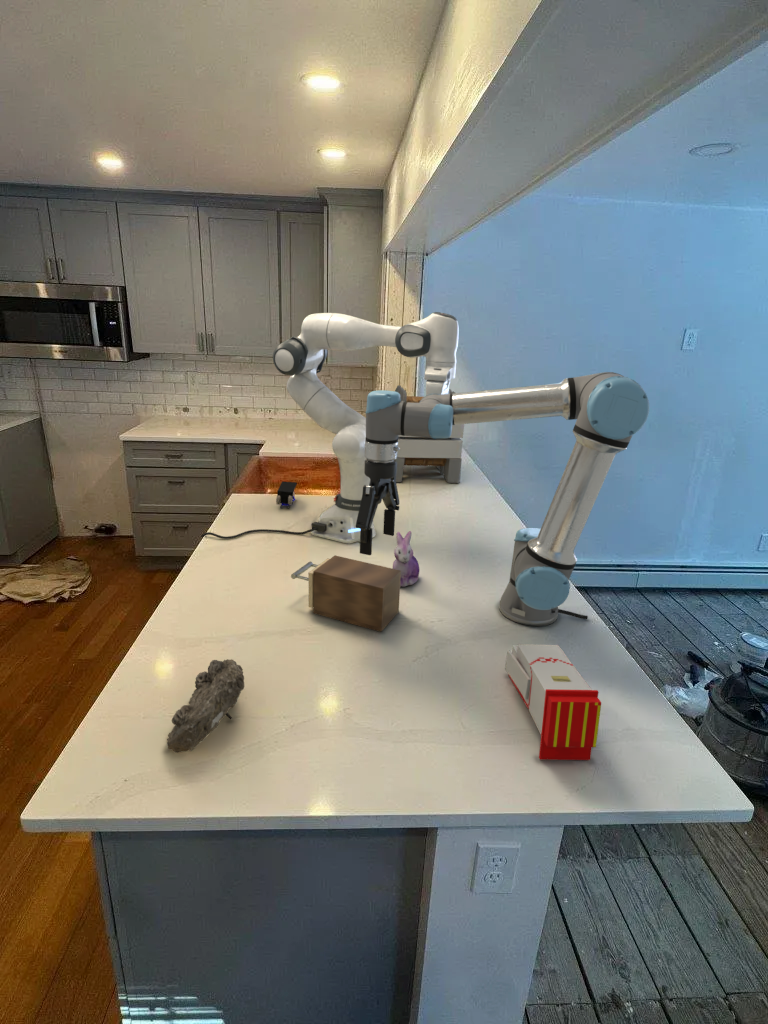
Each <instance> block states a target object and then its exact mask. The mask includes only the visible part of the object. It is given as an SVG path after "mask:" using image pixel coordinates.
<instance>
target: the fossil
mask: <svg viewBox="0 0 768 1024" xmlns="http://www.w3.org/2000/svg"><path fill="white" fill-rule="evenodd" d="M243 670H244V669H243V667H242V665H240V664H237V662H236V661H235V660H234V659H232V658H231V659H227V658H226V659H224V660H223V661H222V660H217V659H212V660H211V661H210V663H209V665H208V666H207V671H201V672H199V673H198V674H197V675H196V676H195V680H194V684H195V685H194V687H195V689H194V690H193V693H192V694H191V697H190V698H189V700H188V704H184V705H182V706H181V707H180V709H177V710H176V711H175V713H174V715H173V716H172V718H171V723H172V724H173V727H172V730H171V731H170V732H168V734H167V738H166V741H167V742H166V745H167V749H168V750H169V751H173V752H174V753H176V754H178V753H182V752H188V751H189V752H192V751H193V750H195V748H196V747H197V746H199V744H200V743H201V742H203V741H204V740H205V739H206V738H207V737H208V736H209V735H210V734H211V733H212V732H214V730H215V729H217V727H218V726H219V724H220V722H221V721H222V720H223V719H224V718H225V716H226V717H227V719H229V720H233V717H232V715H230V714H229V710H230V709H231V708H234V706H235V704H236V703H237V702H238V699H239V697H240V695H241V693H242V691H243V690H245V689H244V688H245V675H244V671H243Z"/></svg>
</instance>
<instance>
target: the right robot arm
mask: <svg viewBox="0 0 768 1024" xmlns="http://www.w3.org/2000/svg"><path fill="white" fill-rule="evenodd" d="M422 397H423V398H422V399H421V400H420V402H419V403H411V402H404V401H401V399H400V394H399V393H398V392H395V390H394V391H393V390H387V389H386V390H385V389H384V390H383V389H381V390H380V389H379V390H372V391H370V392H369V393H368V394H367V398H366V409H365V418H366V439H365V457H366V458H367V459H366V460H365V469H364V473H365V475H366V476H367V477H369V478H370V484H369V486H367V485H364V486H363V494H362V499H361V504H360V508H359V513H358V517H357V522H356V528H359V529H360V541H359V554H361V555H365V556H372V555H373V554H372V552H373V538H372V529H373V528H371V525H372V522H374V519H375V515H376V512H377V511H378V506H379V504H381V503H382V501H383V505H384V507H385V509H384V510H383V528H382V529H383V530H382V534H383V535H385V536H390V537H394V536H395V528H396V527H395V526H396V511H399V510H400V506H399V505H400V496H399V492H398V485H397V482H396V474H397V461H396V460H395V459H396V458H397V451H399V447H398V435H402V436H414V437H425V438H433V439H437V438H445V439H446V438H449V437H450V436H451V432H452V425H458V424H464V425H468V424H469V425H470V424H479V423H481V424H483V423H492V422H493V423H494V422H505V421H506V422H507V421H517V420H518V421H519V420H529V419H530V420H531V419H543V418H554V417H555V418H557V417H562V418H564V420H566V421H572V420H576V421H575V423H574V425H573V429H572V433H573V435H574V437H575V443H574V445H573V447H572V450H571V452H570V456H569V458H568V461H567V463H566V465H565V467H564V470H563V473H562V475H561V477H560V480H559V482H558V485H557V487H556V489H555V492H554V495H553V497H552V500H551V502H550V505H549V507H548V510H547V512H546V515H545V517H544V520H543V522H542V525H541V526H540V528H538V527H525V528H520V529H518V530H517V531H516V533H515V537H514V539H513V541H514V544H513V552H512V558H511V566H510V573H509V574H510V576H509V582H508V584H507V585H506V588H505V590H504V592H503V593H502V595H501V597H500V600H499V604H498V605H499V606H498V608H499V609H498V610H499V611H500V613H501V614H502V615H503V616H504V617H505V618H507V619H509V620H510V621H511V622H515V623H517V624H521V625H525V626H530V627H531V626H532V627H543V626H548V625H551V624H553V623H555V621H557V619H558V616H559V614H562V615H567V616H571V617H574V618H577V619H581V620H588V617H589V616H588V615H585V614H580V613H576V612H572V611H569V610H566V609H561V608H559V607H560V606H561V605H562V604H564V603H565V602H566V600H567V599H568V597H569V595H570V590H571V583H570V578H571V576H572V573H573V571H574V569H575V567H576V564H577V562H578V558H577V555H576V553H575V549H576V547H577V545H578V543H579V540H580V538H581V535H582V533H583V531H584V528H585V526H586V524H587V521H588V519H589V517H590V515H591V512H592V510H593V508H594V505H595V503H596V502H597V499H598V496H599V494H600V492H601V490H602V487H603V485H604V482H605V480H606V478H607V475H608V473H609V471H610V469H611V467H612V465H613V462H614V460H615V457H616V455H617V454H618V453H621V452H624V451H625V450H627V448H628V446H629V444H630V442H631V440H632V437H633V435H635V434H636V433H638V432H639V431H640V430H641V429H642V428H643V426H644V425H645V424H646V422H647V420H648V417H649V414H650V401H649V397H648V395H647V393H646V391H645V390H644V388H643V387H642V386H641V385H640V383H639V382H637V381H635V380H634V379H632V378H629V377H628V376H624V375H622V374H620V373H617V372H613V371H603V372H602V371H601V372H596V373H592V374H586V375H579V376H573V377H565V378H564V379H563V380H562V381H561V382H558V383H549V384H538V385H528V386H517V387H507V388H497V389H488V390H487V389H485V390H476V391H465V392H455V393H453V394H443V395H440V394H429V395H427V396H426V395H424V396H422Z"/></svg>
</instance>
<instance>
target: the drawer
mask: <svg viewBox="0 0 768 1024" xmlns="http://www.w3.org/2000/svg"><path fill="white" fill-rule="evenodd" d="M329 559H330V558H326V559H324V561H323V560H322V562H321V563H319V564H316V563H313V562H312V561H309V562H307V563H306V564H304V565H302V566H301V567H300V568H299V569H297V570H296V571H294V572H293V573H291V575H290V578H291V579H292V580H295V579H299V580H304V581H308V608H310V609H314V575H313V571H314V570H316V569H317V568H318V567H320V566H321V565H322V564H324V563H325V562H327V561H328V560H329ZM312 567H313V569H311V570H310V571H309V572H308V577H307V576H304V575H303V576H302V574H303V573H305V572H306V571H308V570H309V569H310V568H312Z"/></svg>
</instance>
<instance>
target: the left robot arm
mask: <svg viewBox="0 0 768 1024" xmlns="http://www.w3.org/2000/svg"><path fill="white" fill-rule="evenodd" d="M459 330H460V329H459V321H458V319H457V317H456V316H454V315H452V314H449V313H445V312H441V311H434V312H432V313H431V314H429V315H428V316H426V317H425V318H422V319H419V320H417V321H414V322H411V323H407V324H405V325H402V326H400V325H387V324H381V323H377V322H372V321H371V320H370V321H369V320H366V319H363V318H359V317H356V316H352V315H349V314H344V313H338V312H319V313H318V312H317V313H312V314H308V315H307V316H306V317H304V319H303V321H302V323H301V328H300V334H299V335H298V336H295V335H293V336H291V337H289V338H288V339H286V340H284V341H282V342H281V343H279V344H278V345H277V346H276V347H275V349H274V351H273V352H272V353H273V354H272V362H273V365H274V367H275V369H276V370H277V371H278V372H279V373H280V374H282V375H285V376H289V377H288V379H287V381H286V386H285V387H286V391H287V392H288V394H289V396H290V397H291V398H292V399H293V401H294V402H295V403H296V404H297V406H298V407H299V408H300V409H302V411H303V412H304V413H305V414H306V415H307V416H308V417H310V418H311V419H312V421H314V422H315V423H316V424H317V425H318V426H319V427H320V428H322V429H324V430H326V431H329V432H330V433H332V434H334V435H335V436H334V437H333V439H332V443H331V448H332V452H333V453H334V455H335V457H336V458H337V462H338V467H339V473H340V490H339V491H338V492H337V494H336V495H335V496H334V497H333V502H334V504H333V505H331V506H329V507H328V508H326V509H325V510H323V512H321V514H320V515H319V517H318V521H314V522H311V529H308V530H304V531H289V530H282V529H269V528H268V529H266V528H265V529H263V528H261V529H250V530H246V531H242V532H241V533H238V534H234V535H229V536H224V535H220V534H217V533H214V532H211V531H209V532H204V533H203V534H202V535H200V537H201V538H204V537H205V536H213V537H215V538H219V539H224V540H230V539H236V538H238V537H241V536H243V535H246V534H251V533H263V532H265V533H266V532H267V533H283V534H289V535H306V534H308V533H311V536H315V537H319V538H323V539H326V540H330V541H336V542H339V543H343V544H352V543H357V542H360V529H359V528H356V522H357V517H358V513H359V508H360V504H361V499H362V494H363V486H364V485H367V486H369V484H370V478H369V477H367V476H366V475H365V473H364V469H365V460H366V459H367V458H366V457H365V439H366V416H364V415H362V414H361V413H360V412H358V411H356V410H355V409H353V408H352V407H350V406H349V405H347V404H346V403H345V402H344V401H342V399H340V398H339V397H338V396H337V395H336V394H335V393H334V392H333V391H332V390H331V389H330V388H329V387H328V386H327V385H326V384H324V383H323V382H322V380H320V378H319V376H318V375H317V374H319V373H320V372H321V371H322V369H323V367H324V366H323V365H324V363H325V361H326V359H327V357H328V351H335V352H351V351H358V350H363V349H368V348H372V347H373V348H374V347H392V348H396V350H397V351H398V353H399V354H400V355H402V356H403V357H406V358H411V359H413V358H421V357H424V358H425V367H424V368H425V369H424V377H423V378H424V380H425V381H426V382H425V396H427V395H429V394H440V395H443V394H449V389H450V384H451V380H454V379H456V371H457V370H456V369H457V350H458V347H459V332H460V331H459ZM371 528H373V529H372V539H373V538H375V537H376V535H377V532H376V528H375V523H374V521H373V522H372V525H371Z"/></svg>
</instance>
